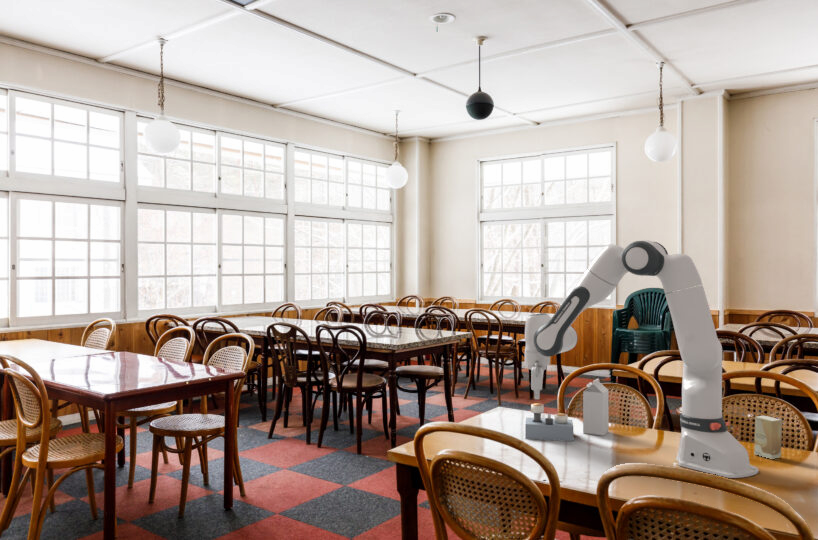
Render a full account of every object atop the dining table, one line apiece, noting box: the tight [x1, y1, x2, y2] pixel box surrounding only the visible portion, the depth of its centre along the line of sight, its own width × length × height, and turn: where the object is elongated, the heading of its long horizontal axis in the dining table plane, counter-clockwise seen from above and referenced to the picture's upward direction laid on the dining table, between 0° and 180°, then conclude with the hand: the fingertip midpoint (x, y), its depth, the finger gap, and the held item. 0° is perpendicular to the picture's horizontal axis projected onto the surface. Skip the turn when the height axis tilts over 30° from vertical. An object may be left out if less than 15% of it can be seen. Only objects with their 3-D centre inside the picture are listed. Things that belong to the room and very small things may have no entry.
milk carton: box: [582, 377, 609, 437], centre depth 226 cm, size 7×7×19 cm
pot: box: [544, 413, 554, 425], centre depth 218 cm, size 3×3×3 cm
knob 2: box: [554, 412, 569, 424], centre depth 220 cm, size 4×4×8 cm
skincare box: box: [754, 415, 783, 460], centre depth 197 cm, size 6×4×12 cm
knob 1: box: [530, 402, 545, 423], centre depth 222 cm, size 4×4×8 cm
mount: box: [524, 417, 574, 442], centre depth 221 cm, size 16×10×5 cm, turn 78°
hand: (536, 398), depth 222 cm, fingers closed
